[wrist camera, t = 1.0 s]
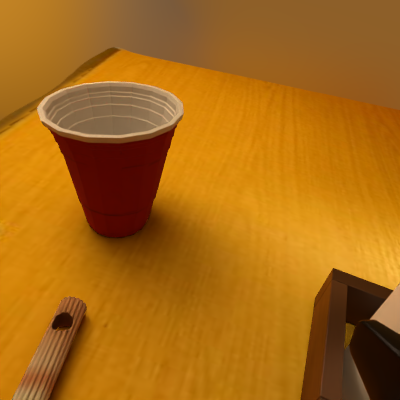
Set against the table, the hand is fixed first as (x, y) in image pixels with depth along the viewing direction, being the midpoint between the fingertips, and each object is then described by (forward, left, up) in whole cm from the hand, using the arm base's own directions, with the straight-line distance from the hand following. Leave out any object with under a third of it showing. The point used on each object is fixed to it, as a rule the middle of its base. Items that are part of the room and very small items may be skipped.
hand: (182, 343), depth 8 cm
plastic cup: (+21, -3, -16) cm, 27 cm away
